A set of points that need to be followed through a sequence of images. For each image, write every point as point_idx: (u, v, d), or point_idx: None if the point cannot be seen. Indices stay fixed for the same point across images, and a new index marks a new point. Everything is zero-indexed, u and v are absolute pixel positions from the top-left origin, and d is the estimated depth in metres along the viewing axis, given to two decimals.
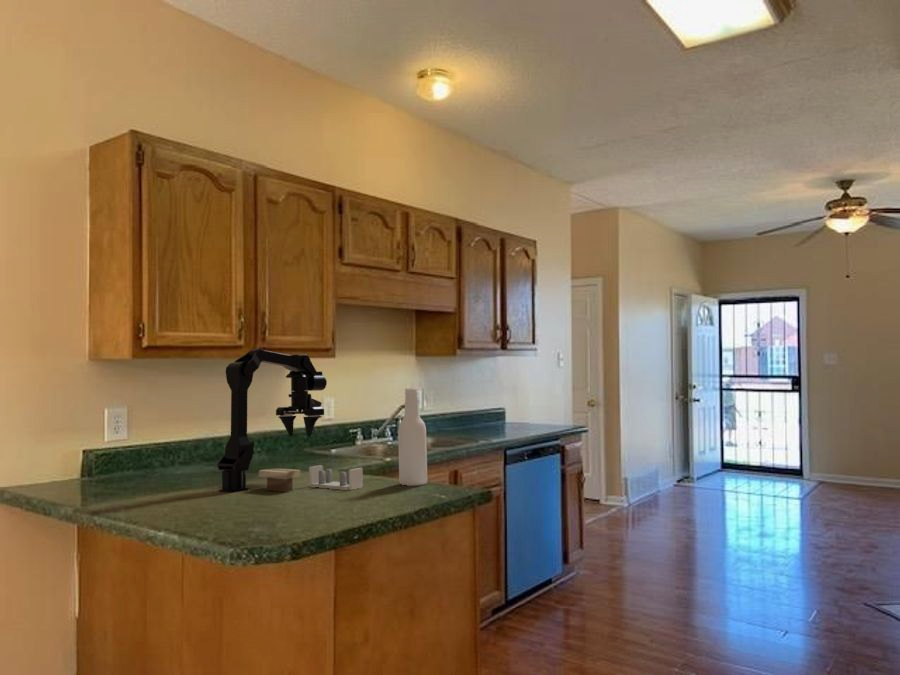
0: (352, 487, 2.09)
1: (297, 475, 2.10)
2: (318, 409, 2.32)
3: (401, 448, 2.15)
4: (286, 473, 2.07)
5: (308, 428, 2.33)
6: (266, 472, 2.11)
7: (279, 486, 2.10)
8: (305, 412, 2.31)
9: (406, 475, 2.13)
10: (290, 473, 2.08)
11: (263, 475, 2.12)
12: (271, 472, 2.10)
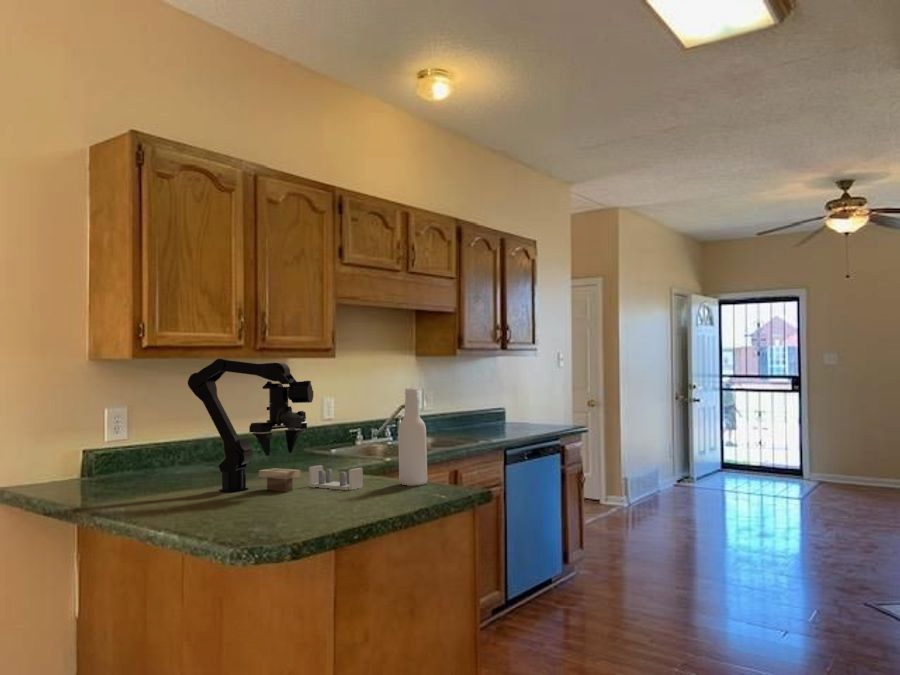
0: (352, 487, 2.09)
1: (297, 475, 2.10)
2: (255, 425, 2.06)
3: (401, 448, 2.15)
4: (286, 473, 2.07)
5: (262, 445, 2.09)
6: (266, 472, 2.11)
7: (279, 486, 2.10)
8: None
9: (406, 475, 2.13)
10: (290, 473, 2.08)
11: (263, 475, 2.12)
12: (271, 472, 2.10)
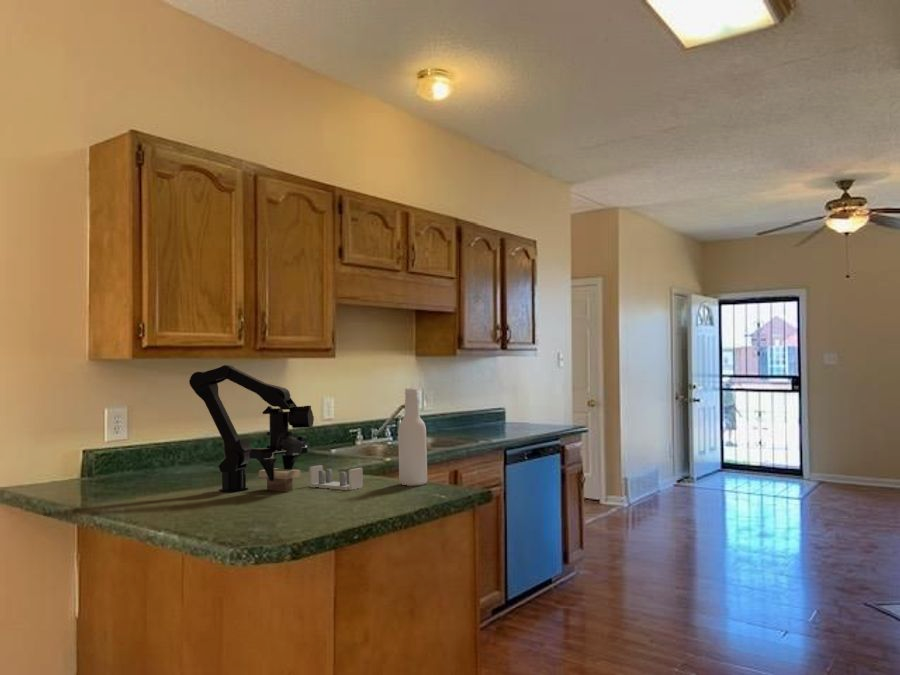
0: (352, 487, 2.09)
1: (297, 475, 2.10)
2: (255, 452, 2.05)
3: (401, 448, 2.15)
4: (286, 473, 2.07)
5: (266, 470, 2.10)
6: None
7: (279, 486, 2.10)
8: None
9: (406, 475, 2.13)
10: (290, 473, 2.08)
11: (263, 475, 2.12)
12: None
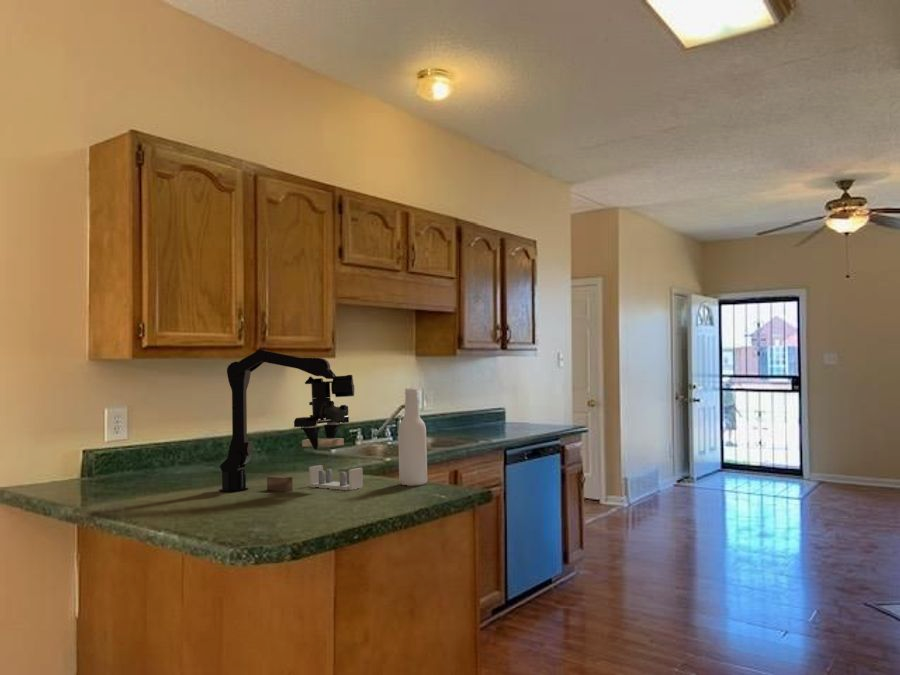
0: (352, 487, 2.09)
1: (340, 443, 2.13)
2: (300, 420, 2.08)
3: (401, 448, 2.15)
4: (330, 441, 2.10)
5: (310, 439, 2.13)
6: None
7: (279, 486, 2.10)
8: None
9: (406, 475, 2.13)
10: (334, 441, 2.11)
11: (307, 444, 2.15)
12: None
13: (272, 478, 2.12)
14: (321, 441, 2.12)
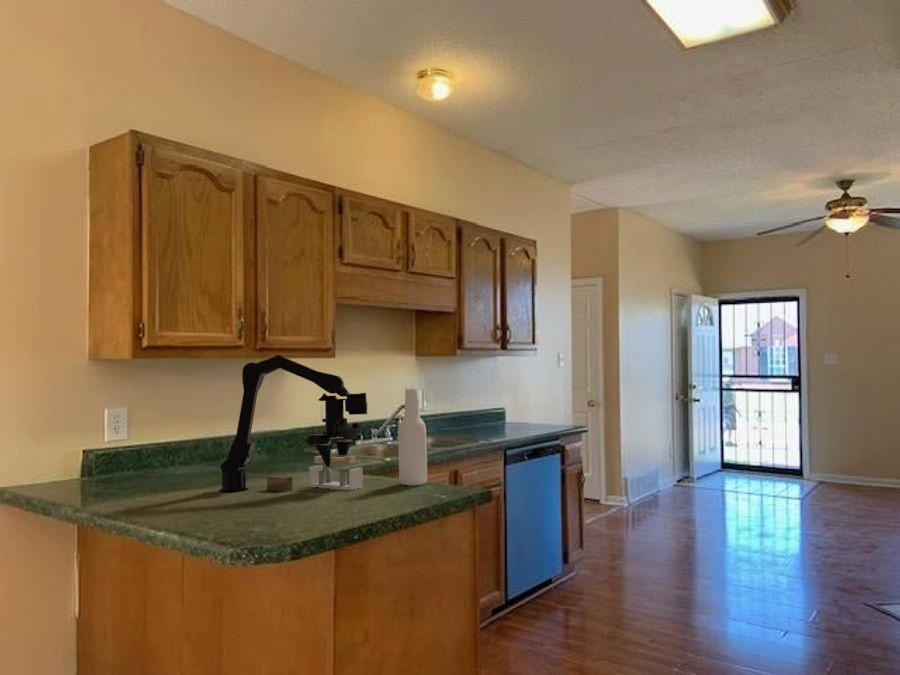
0: (352, 487, 2.09)
1: (353, 461, 2.14)
2: (313, 438, 2.09)
3: (401, 448, 2.15)
4: (343, 459, 2.10)
5: (322, 456, 2.13)
6: None
7: (279, 486, 2.10)
8: None
9: (406, 475, 2.13)
10: (346, 459, 2.12)
11: (319, 461, 2.15)
12: None
13: (272, 478, 2.12)
14: (334, 458, 2.12)
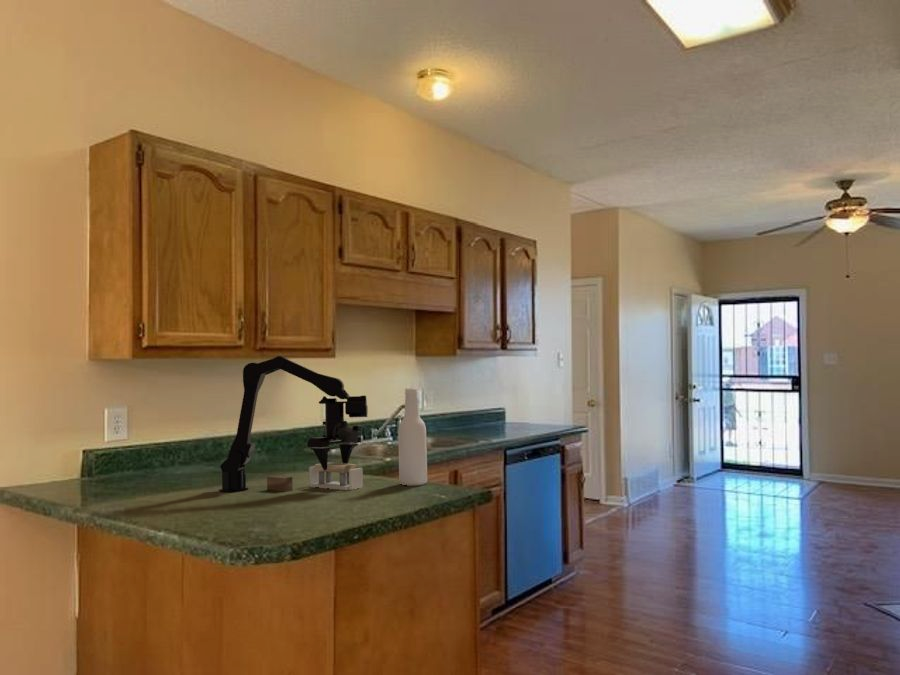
0: (352, 487, 2.09)
1: None
2: (313, 440, 2.09)
3: (401, 448, 2.15)
4: (343, 467, 2.10)
5: (320, 460, 2.12)
6: None
7: (279, 486, 2.10)
8: None
9: (406, 475, 2.13)
10: (347, 467, 2.11)
11: (319, 469, 2.15)
12: (328, 466, 2.13)
13: (272, 478, 2.12)
14: (334, 467, 2.12)
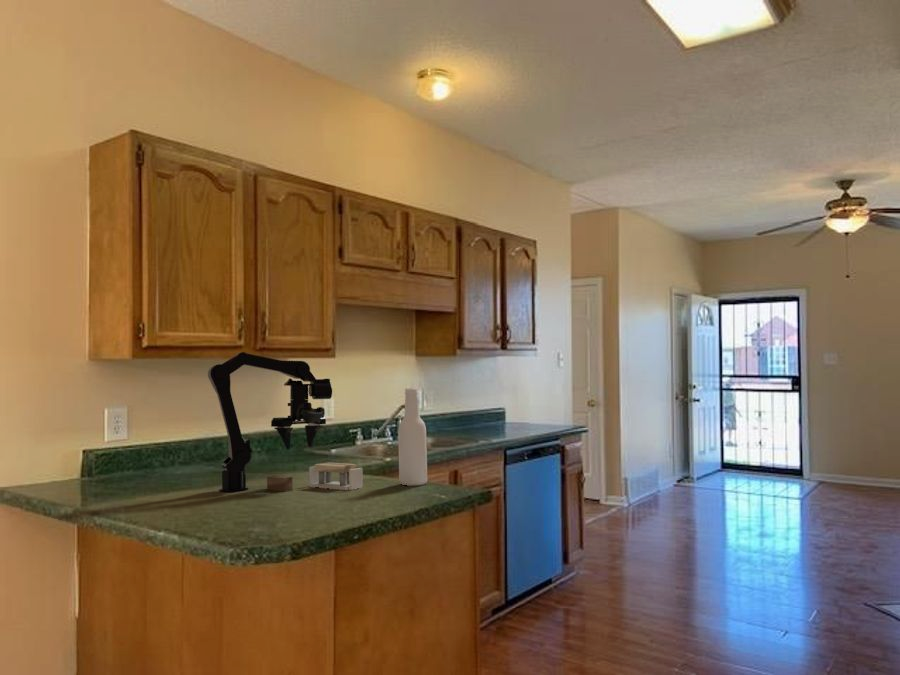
0: (352, 487, 2.09)
1: None
2: (276, 420, 2.17)
3: (401, 448, 2.15)
4: (343, 467, 2.10)
5: (283, 439, 2.20)
6: (322, 466, 2.15)
7: (279, 486, 2.10)
8: None
9: (406, 475, 2.13)
10: (347, 467, 2.11)
11: (319, 469, 2.15)
12: (328, 466, 2.13)
13: (272, 478, 2.12)
14: (334, 467, 2.12)
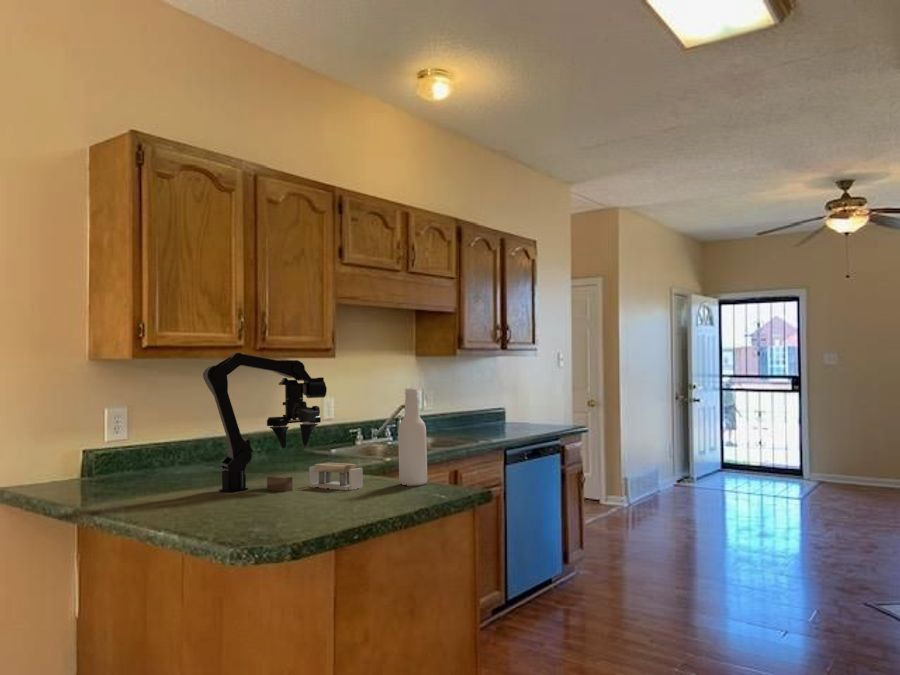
0: (352, 487, 2.09)
1: None
2: (272, 420, 2.18)
3: (401, 448, 2.15)
4: (343, 467, 2.10)
5: (279, 438, 2.21)
6: (322, 466, 2.15)
7: (279, 486, 2.10)
8: None
9: (406, 475, 2.13)
10: (347, 467, 2.11)
11: (319, 469, 2.15)
12: (328, 466, 2.13)
13: (272, 478, 2.12)
14: (334, 467, 2.12)
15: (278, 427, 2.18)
